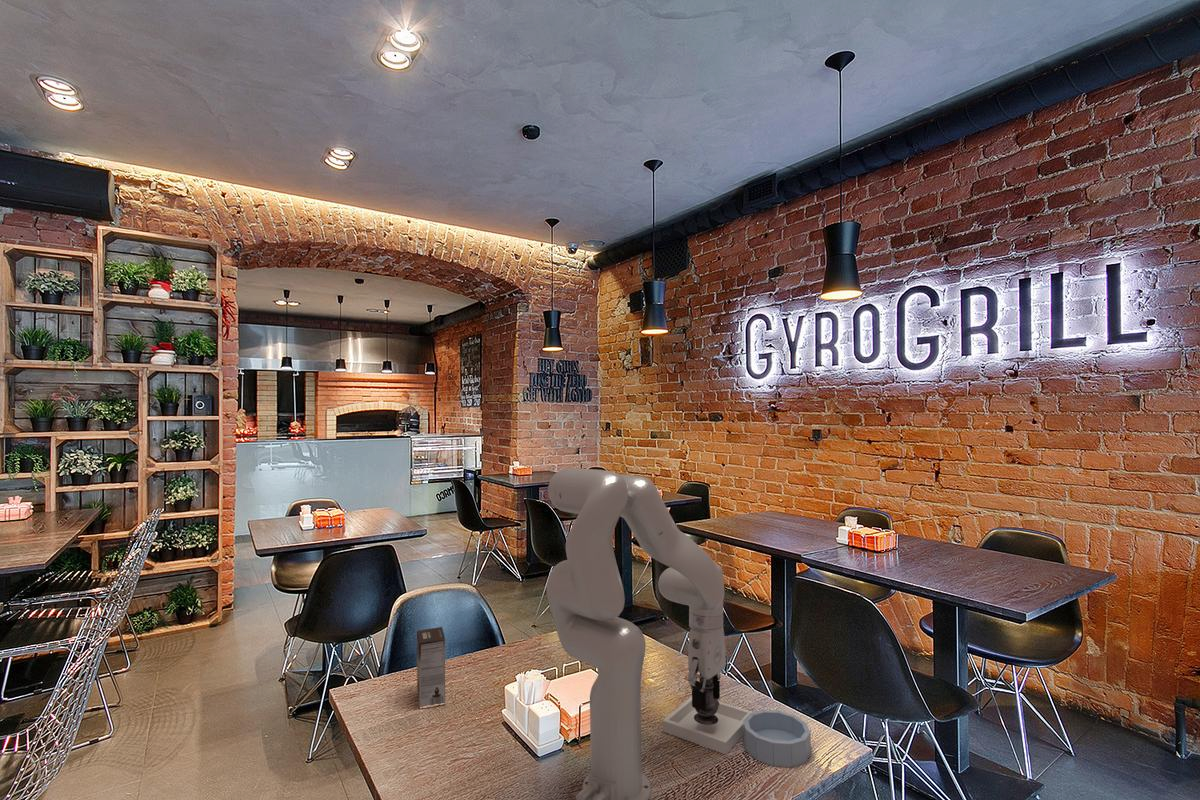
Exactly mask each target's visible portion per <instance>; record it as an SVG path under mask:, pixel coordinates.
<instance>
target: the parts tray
mask: <svg viewBox="0 0 1200 800" xmlns="http://www.w3.org/2000/svg"><path fill="white" fill-rule="evenodd" d="M718 702H719V706H718V710H717V712H716V713H715V714H714V715H715V716H716V717H717V718H718V722H717V723H715V724H712V725H704V724H700V723H698V722H696V721H695V719H694V716H695V715H696V714H697V712H696V710H695V708H694V707H692V695H691V696H690V697H689V698H687V700H685V701H684V702H683V703H682V704H680V705H679V706H678V707H677V708H676V709H675V710H673V711H671V712H670V714H668V715H667V716H666V717H665V718H664V719H662V733H664V732H666V733H665V734H667V733H668V734H667V735H670V734H671V735H670V736H672V735H674V736H673V737H675V736H677V737H676V738H678V737H679V739H681V738H682V739H681V740H683V739H684V741H686V740H687V741H686V742H689V741H690V742H689V743H692V742H693V743H692V744H694V743H695V745H697V744H699V745H698V746H700V745H702V746H701V747H703V746H704V747H703V748H705V747H707V748H706V749H708V748H709V750H711V751H714V750H715V751H714V752H717V753H720V754H722V755H725V756H727V754H728V753H729V752H730V751H731V750H732V749H733V748H734V747H735V746H736V744H737V743H738V742H739V741H740V740H741V739H742V738H744V723H743V720H744V719H745V718H746V717H747V716H748V715H749V714H750V713H753V712H754V711H751V710H750V709H749V710H747V709H745V708H742V707H739V706H735V705H733V704H729V703H725V702H722V701H719V700H718ZM734 745H735V746H734ZM733 746H734V747H733ZM732 747H733V748H732Z"/></svg>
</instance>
